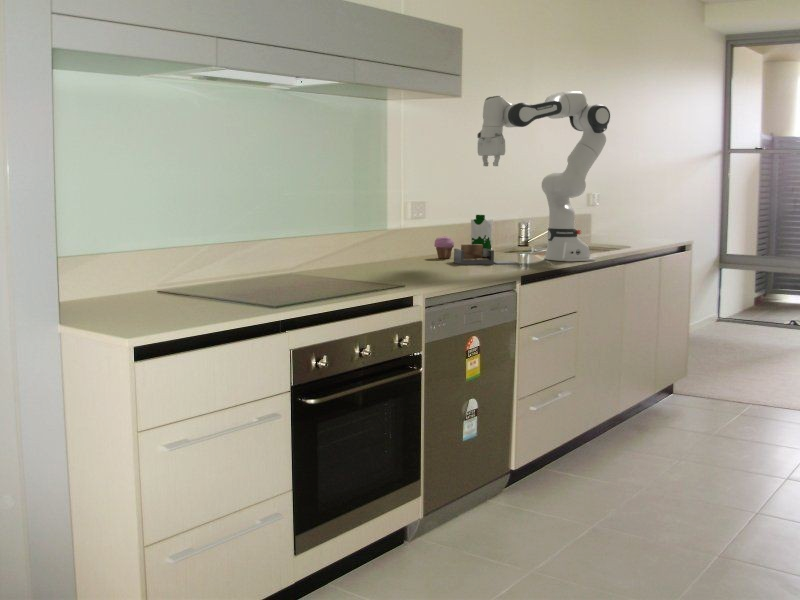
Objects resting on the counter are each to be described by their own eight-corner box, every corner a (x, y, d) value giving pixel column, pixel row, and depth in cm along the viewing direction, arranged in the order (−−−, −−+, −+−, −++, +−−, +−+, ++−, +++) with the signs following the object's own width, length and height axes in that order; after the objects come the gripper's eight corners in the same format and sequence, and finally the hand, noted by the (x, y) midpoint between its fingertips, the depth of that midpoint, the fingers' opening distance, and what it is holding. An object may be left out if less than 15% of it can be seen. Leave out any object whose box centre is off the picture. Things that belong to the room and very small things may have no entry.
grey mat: (512, 262, 386) (512, 260, 386) (519, 264, 377) (519, 262, 377) (490, 262, 384) (490, 260, 384) (497, 264, 375) (497, 263, 375)
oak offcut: (486, 264, 378) (486, 258, 378) (488, 265, 375) (488, 259, 375) (475, 264, 377) (475, 258, 377) (477, 265, 374) (477, 259, 374)
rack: (485, 262, 385) (485, 248, 384) (493, 264, 374) (494, 250, 373) (453, 262, 382) (454, 248, 381) (461, 265, 371) (461, 250, 370)
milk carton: (468, 259, 395) (469, 214, 392) (475, 257, 403) (476, 214, 400) (486, 260, 391) (487, 215, 388) (493, 259, 399) (495, 214, 396)
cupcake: (447, 259, 392) (447, 237, 391) (430, 258, 397) (430, 236, 395) (457, 258, 399) (457, 236, 398) (440, 257, 404) (441, 235, 403)
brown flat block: (480, 262, 383) (481, 244, 381) (482, 263, 380) (482, 244, 379) (460, 262, 381) (461, 244, 379) (462, 263, 378) (462, 244, 377)
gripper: (509, 133, 372) (508, 166, 374) (488, 135, 391) (486, 166, 393) (496, 132, 370) (494, 165, 372) (475, 134, 389) (474, 166, 391)
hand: (490, 166), depth 382 cm, fingers open, 8 cm apart
